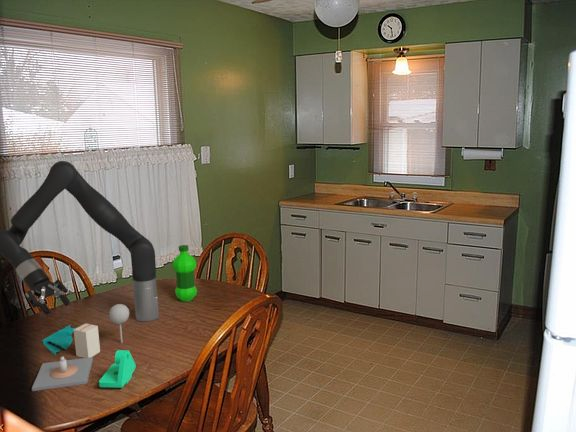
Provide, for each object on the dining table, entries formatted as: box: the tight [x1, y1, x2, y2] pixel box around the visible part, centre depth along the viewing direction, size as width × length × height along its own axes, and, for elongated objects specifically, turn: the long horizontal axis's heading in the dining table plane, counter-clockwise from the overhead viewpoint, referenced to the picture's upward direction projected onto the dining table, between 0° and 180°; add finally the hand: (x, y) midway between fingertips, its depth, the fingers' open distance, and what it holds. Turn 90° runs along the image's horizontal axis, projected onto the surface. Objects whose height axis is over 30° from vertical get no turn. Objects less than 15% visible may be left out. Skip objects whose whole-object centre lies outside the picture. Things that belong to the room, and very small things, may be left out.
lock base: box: [31, 356, 94, 392], centre depth 166 cm, size 16×16×6 cm
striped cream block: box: [73, 323, 101, 358], centre depth 179 cm, size 6×6×10 cm
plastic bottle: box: [172, 244, 198, 302], centre depth 227 cm, size 10×10×25 cm
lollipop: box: [108, 303, 130, 344], centre depth 187 cm, size 7×7×15 cm
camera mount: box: [98, 349, 137, 389], centre depth 162 cm, size 12×8×10 cm, turn 177°
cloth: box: [41, 324, 77, 355], centre depth 191 cm, size 26×14×2 cm, turn 0°
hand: (58, 308), depth 182 cm, fingers open, 8 cm apart
